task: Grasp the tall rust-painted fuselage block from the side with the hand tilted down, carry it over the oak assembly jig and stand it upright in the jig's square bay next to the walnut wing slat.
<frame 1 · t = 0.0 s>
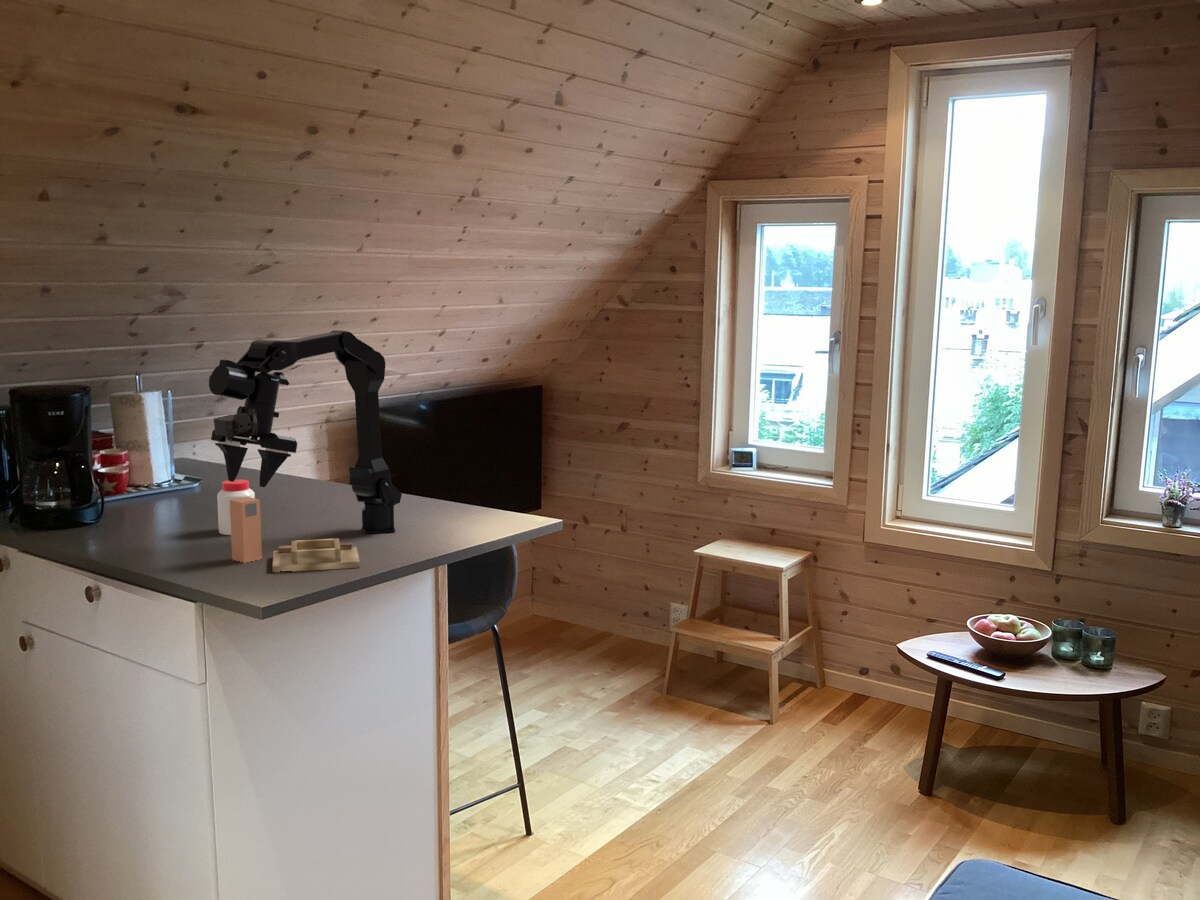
hand: (246, 484, 205), 15 cm above the counter, tool pointing down, fingers open, 9 cm apart
jig: (316, 562, 208), on the counter
pill bottle: (237, 532, 234), on the counter
fuselage block: (247, 559, 210), on the counter
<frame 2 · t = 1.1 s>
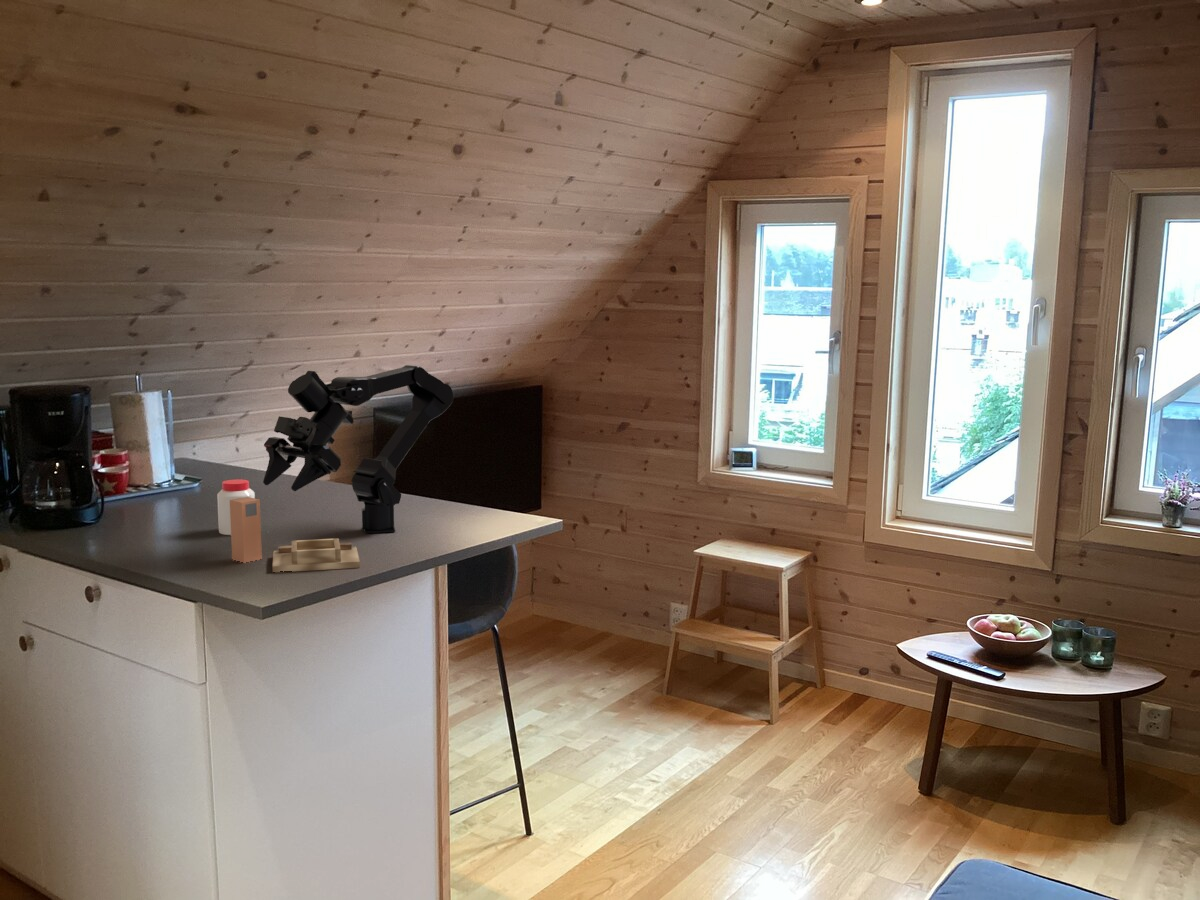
hand: (278, 486, 214), 13 cm above the counter, tool tilted 45°, fingers open, 9 cm apart
nothing on the counter moved.
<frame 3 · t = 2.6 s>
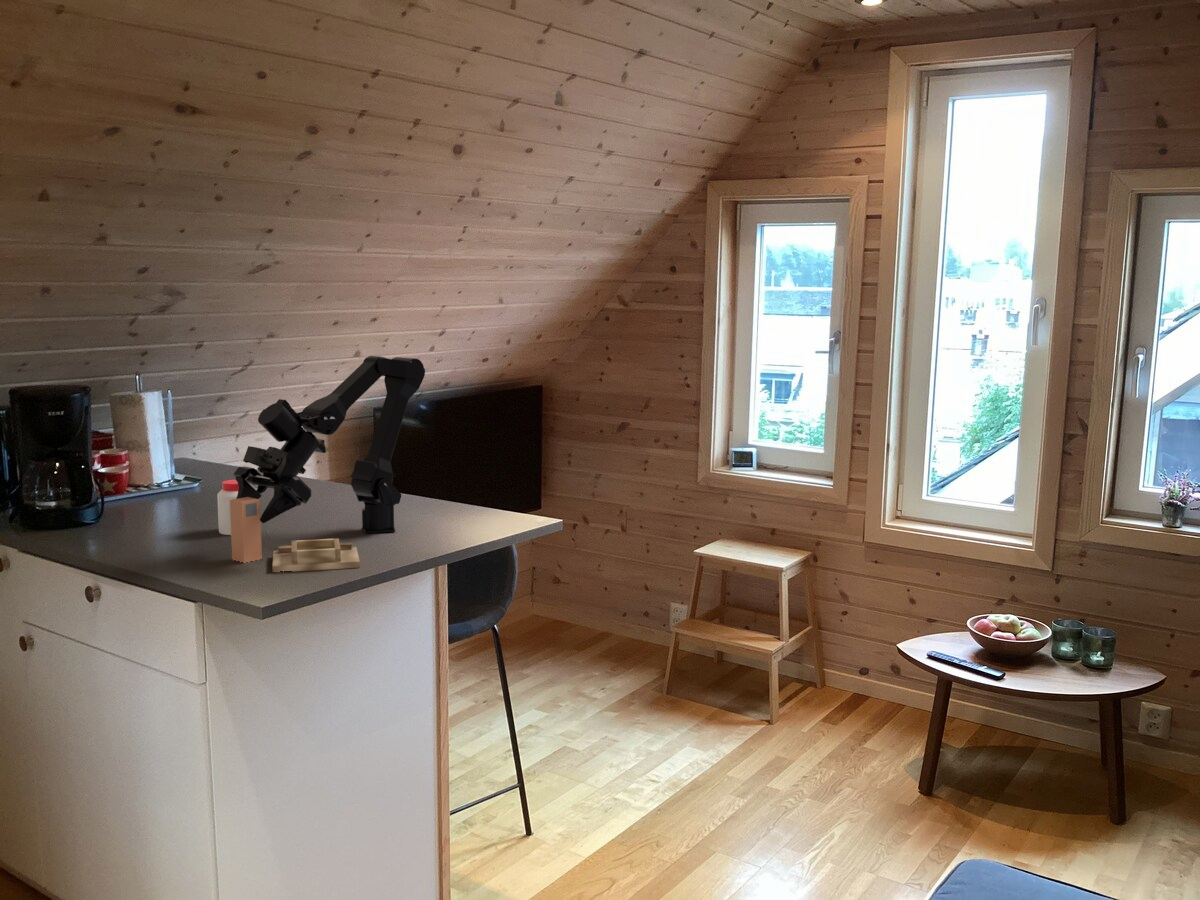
hand: (247, 518, 209), 8 cm above the counter, tool tilted 45°, fingers open, 9 cm apart
nothing on the counter moved.
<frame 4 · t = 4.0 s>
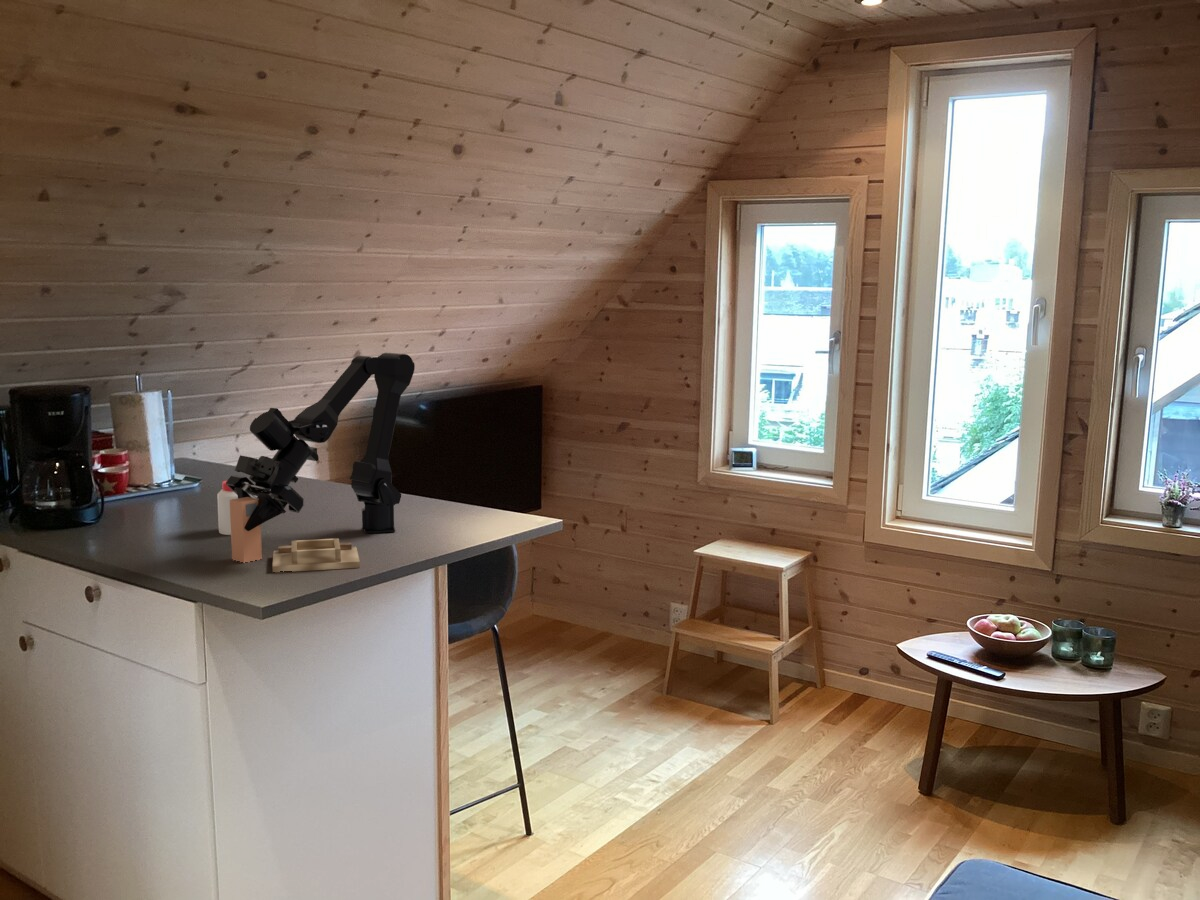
hand: (239, 528, 208), 7 cm above the counter, tool tilted 45°, fingers closed on fuselage block, 4 cm apart
fuselage block: (247, 559, 210), on the counter, touching gripper
everything else where it was.
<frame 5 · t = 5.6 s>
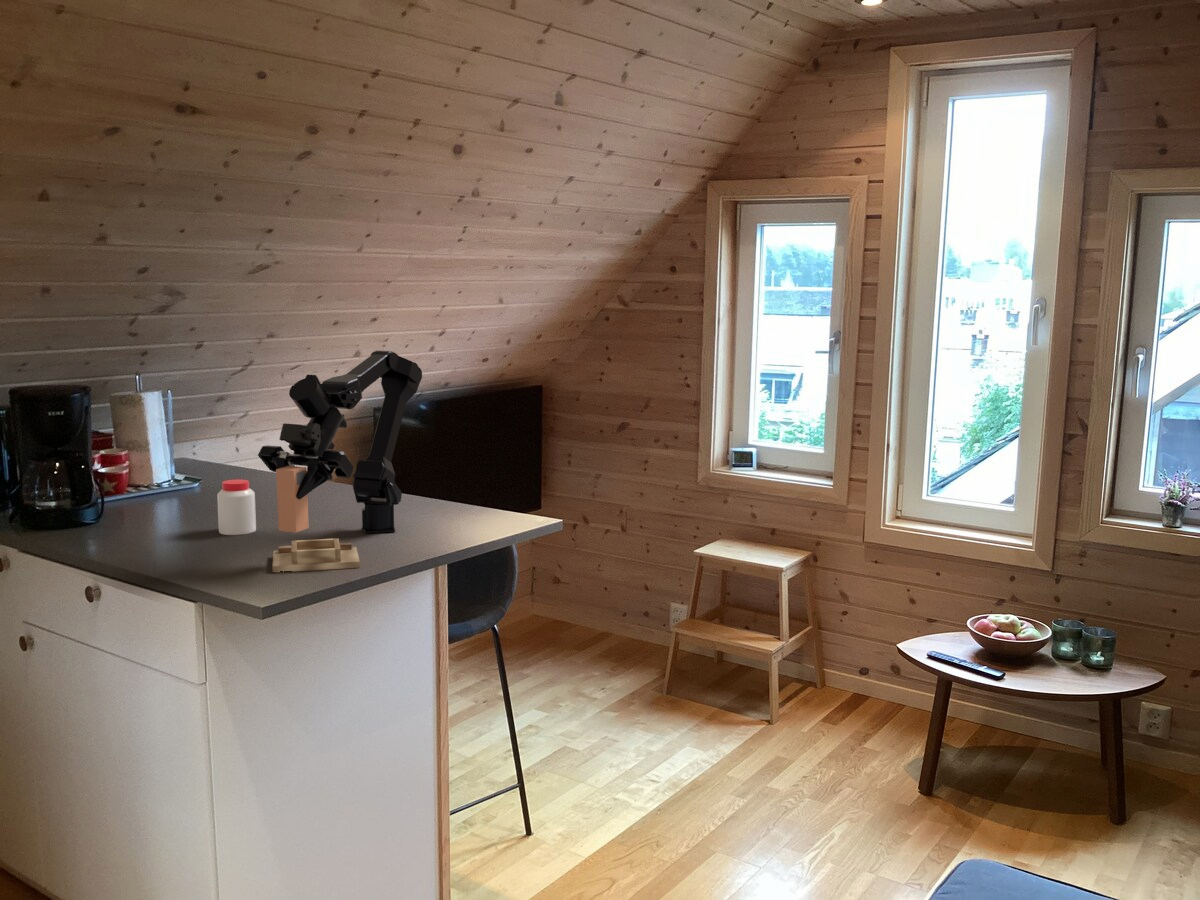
hand: (288, 497, 204), 13 cm above the counter, tool tilted 45°, fingers closed on fuselage block, 4 cm apart
fuselage block: (293, 529, 207), point 7 cm above the counter, touching gripper
everything else where it was.
when the fingers open (9 cm above the counter, at t = 7.2 s): fuselage block drops 1 cm, resting on jig.
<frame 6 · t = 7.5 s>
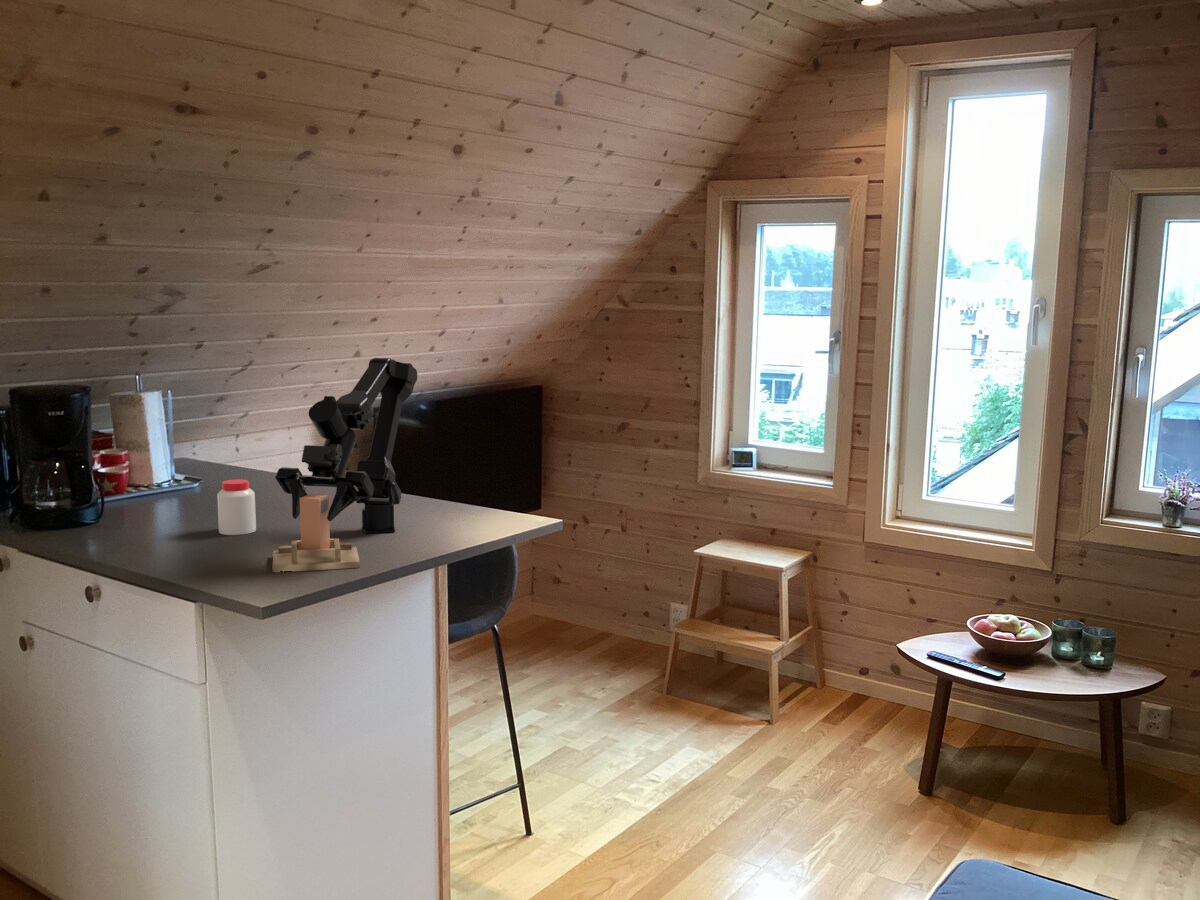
hand: (311, 518, 205), 9 cm above the counter, tool tilted 45°, fingers open, 7 cm apart
fuselage block: (315, 557, 207), point 1 cm above the counter, touching jig
everything else where it was.
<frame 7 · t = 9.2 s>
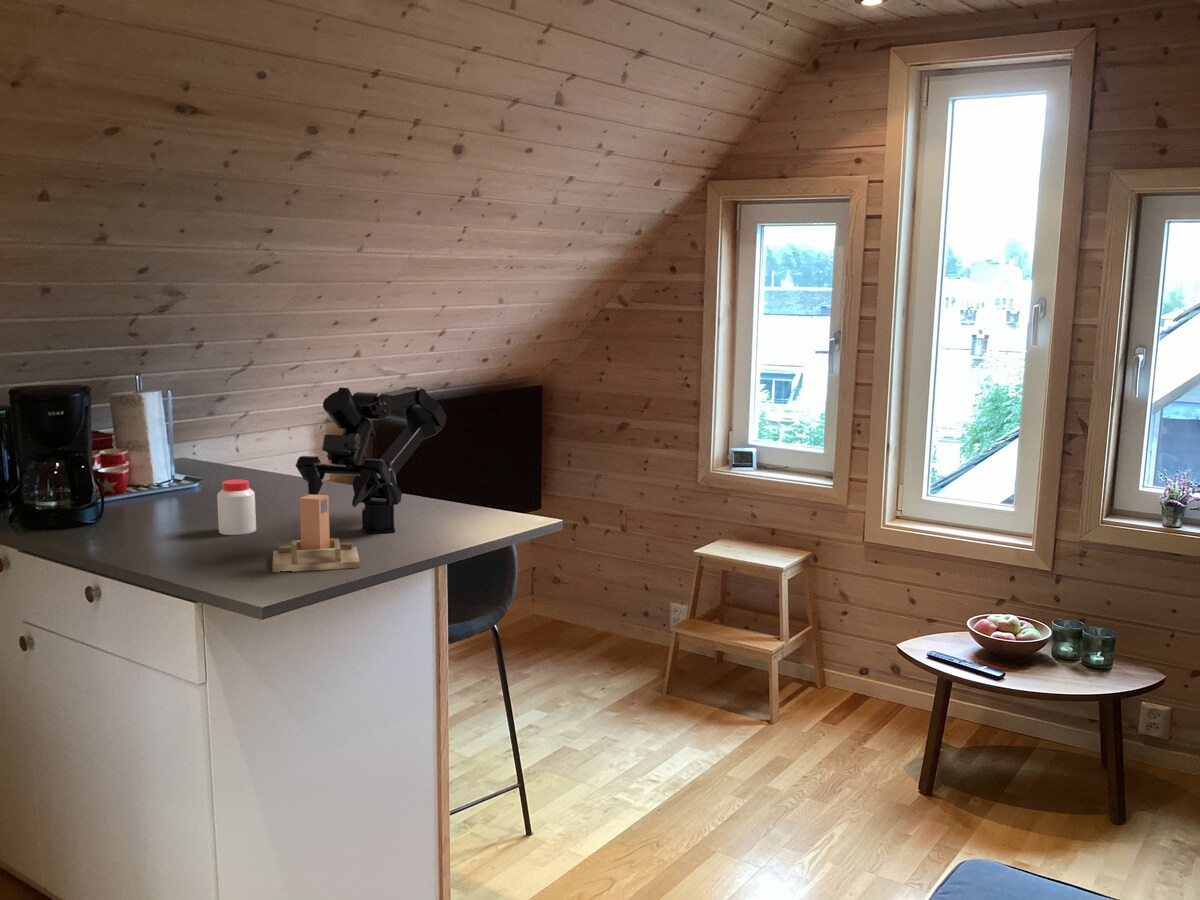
hand: (331, 504, 215), 10 cm above the counter, tool tilted 45°, fingers open, 9 cm apart
nothing on the counter moved.
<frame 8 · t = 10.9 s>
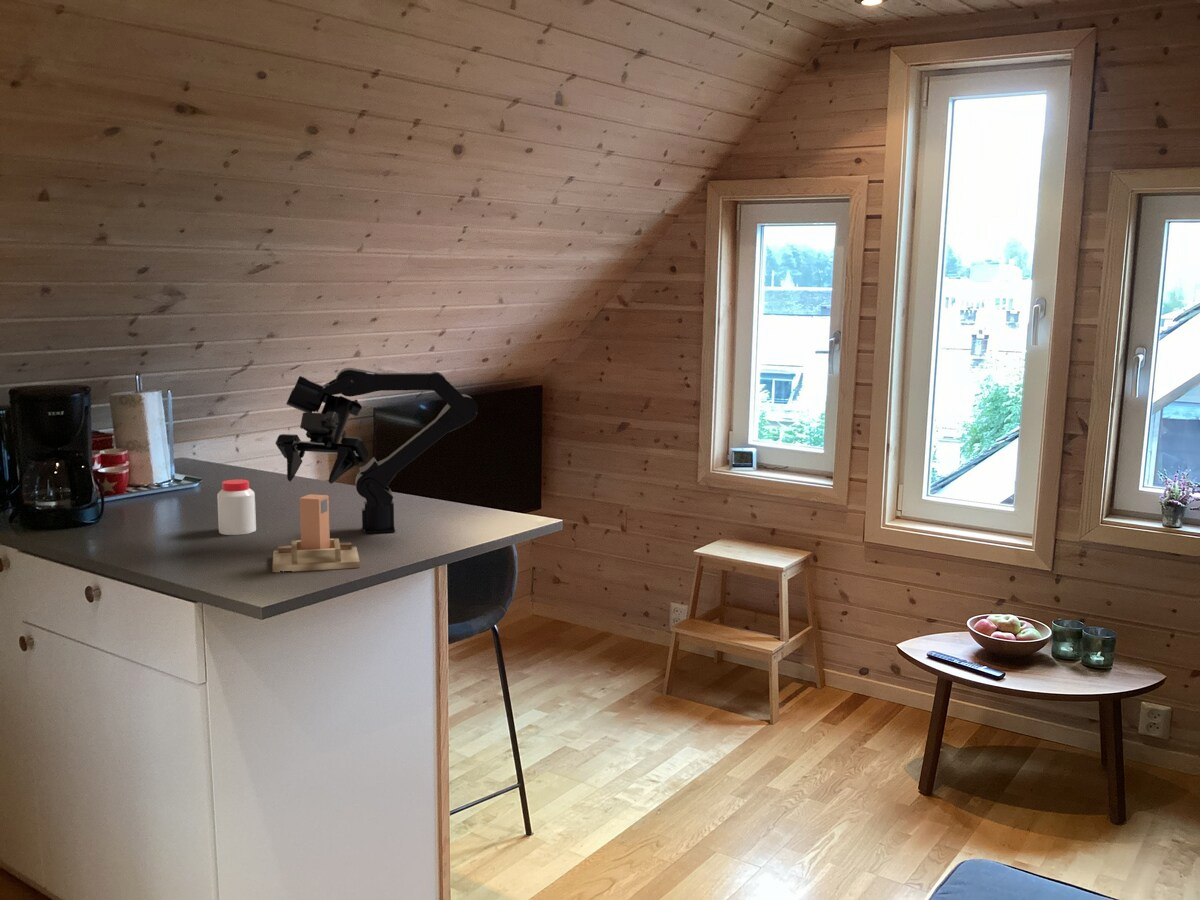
hand: (309, 481, 219), 14 cm above the counter, tool tilted 45°, fingers open, 9 cm apart
nothing on the counter moved.
at the end: fuselage block 0.0 cm from the target spot on the jig, point 1.2 cm above the jig's base; fuselage block tilted 0°; the gripper is holding nothing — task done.
